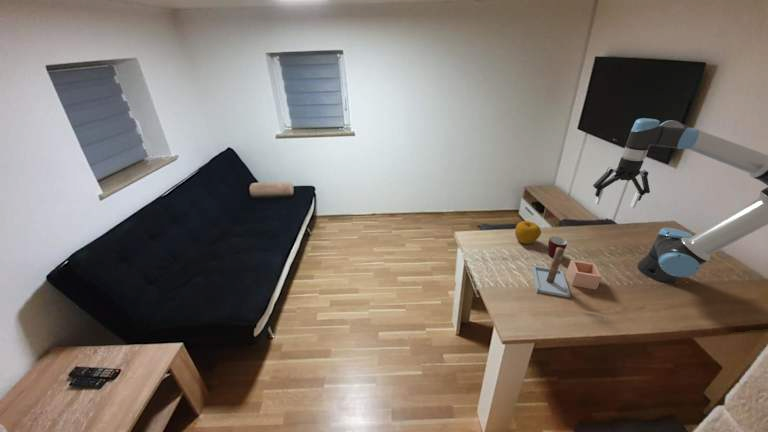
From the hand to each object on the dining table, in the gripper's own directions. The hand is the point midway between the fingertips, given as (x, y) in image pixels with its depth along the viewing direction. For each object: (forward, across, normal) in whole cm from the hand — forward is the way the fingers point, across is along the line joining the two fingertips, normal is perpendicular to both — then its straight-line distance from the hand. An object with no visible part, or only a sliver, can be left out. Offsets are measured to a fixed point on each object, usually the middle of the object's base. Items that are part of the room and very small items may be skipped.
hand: (614, 205), depth 133 cm
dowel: (+34, +21, +18) cm, 44 cm away
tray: (+35, +21, +18) cm, 44 cm away
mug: (+35, +15, -4) cm, 38 cm away
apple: (+35, +28, -17) cm, 48 cm away
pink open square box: (+35, +7, +13) cm, 38 cm away
